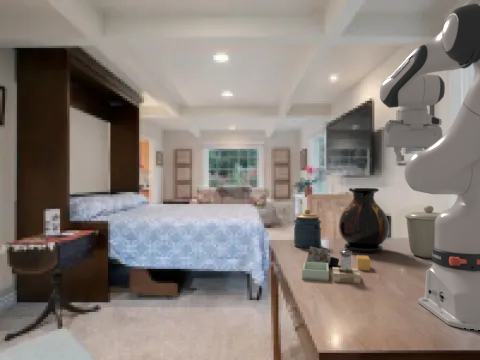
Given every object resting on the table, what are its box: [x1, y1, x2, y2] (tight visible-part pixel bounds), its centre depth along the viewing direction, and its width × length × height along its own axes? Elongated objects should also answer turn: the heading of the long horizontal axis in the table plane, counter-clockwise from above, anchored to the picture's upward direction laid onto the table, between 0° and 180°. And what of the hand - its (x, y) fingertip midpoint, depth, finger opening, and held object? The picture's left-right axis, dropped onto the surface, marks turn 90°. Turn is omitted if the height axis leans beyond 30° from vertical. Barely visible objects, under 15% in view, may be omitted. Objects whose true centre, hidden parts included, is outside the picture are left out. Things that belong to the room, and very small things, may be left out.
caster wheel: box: [306, 247, 340, 267], centre depth 129 cm, size 7×11×10 cm
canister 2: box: [404, 205, 441, 259], centre depth 146 cm, size 18×18×21 cm
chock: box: [355, 254, 371, 271], centre depth 126 cm, size 6×4×4 cm, turn 167°
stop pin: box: [339, 249, 353, 273], centre depth 112 cm, size 4×4×9 cm
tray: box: [301, 261, 330, 282], centre depth 116 cm, size 11×8×3 cm
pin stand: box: [332, 266, 361, 284], centre depth 112 cm, size 8×8×2 cm
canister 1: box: [293, 208, 322, 249], centre depth 168 cm, size 13×13×18 cm
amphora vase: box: [338, 187, 390, 254], centre depth 158 cm, size 22×22×28 cm
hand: (413, 161), depth 120 cm, fingers open, 8 cm apart
